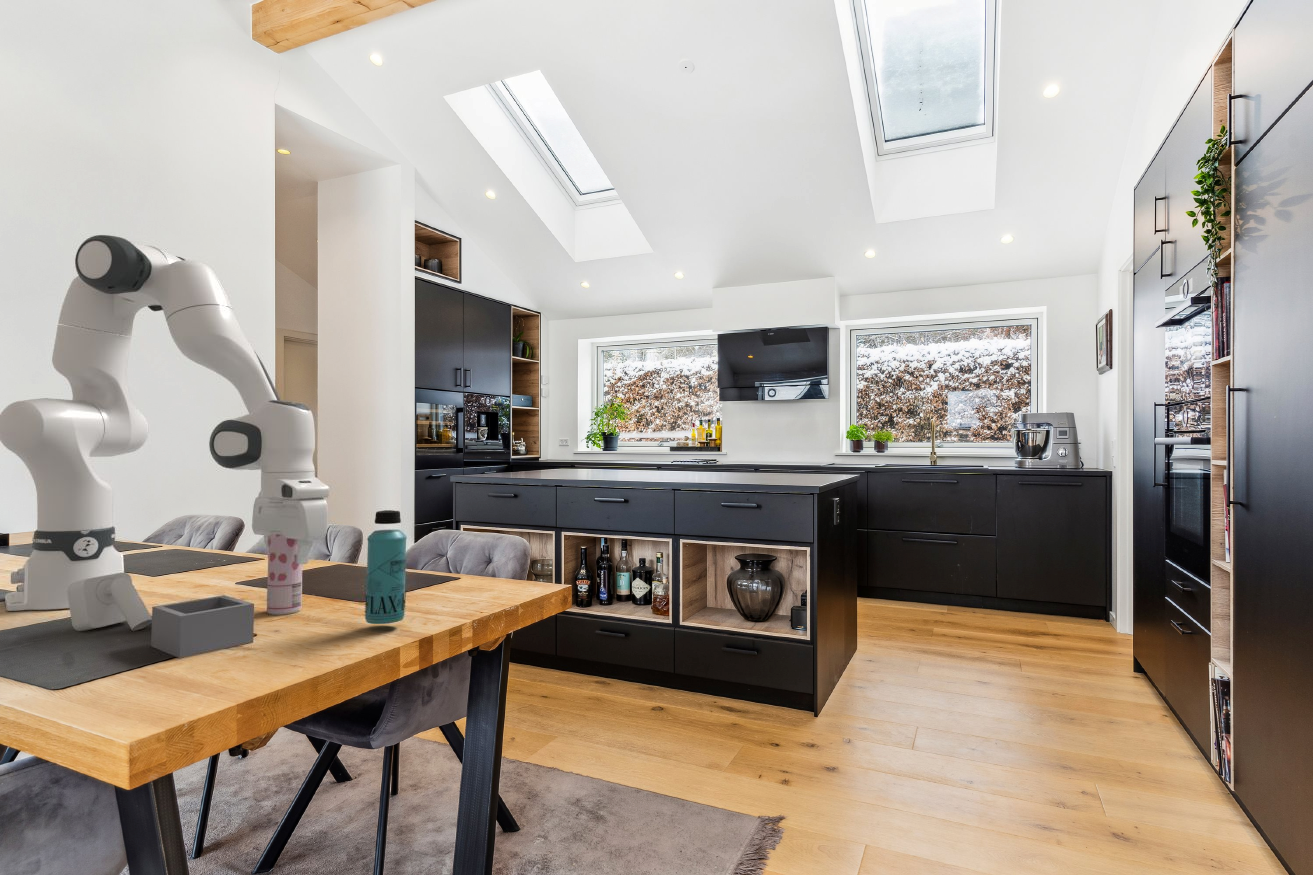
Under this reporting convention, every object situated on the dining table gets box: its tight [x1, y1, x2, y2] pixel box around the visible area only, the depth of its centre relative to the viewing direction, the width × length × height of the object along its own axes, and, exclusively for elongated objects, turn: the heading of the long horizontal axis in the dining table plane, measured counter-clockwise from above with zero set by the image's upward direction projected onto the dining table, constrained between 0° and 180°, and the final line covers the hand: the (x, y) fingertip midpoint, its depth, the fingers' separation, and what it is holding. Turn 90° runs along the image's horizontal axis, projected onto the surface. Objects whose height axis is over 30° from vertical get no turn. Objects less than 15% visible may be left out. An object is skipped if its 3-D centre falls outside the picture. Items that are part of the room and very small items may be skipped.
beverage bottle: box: [364, 509, 408, 625], centre depth 114 cm, size 6×7×20 cm
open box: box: [150, 594, 255, 659], centre depth 103 cm, size 10×10×6 cm
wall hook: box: [67, 571, 152, 632], centre depth 111 cm, size 8×10×10 cm
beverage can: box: [266, 531, 304, 616], centre depth 124 cm, size 6×6×15 cm
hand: (287, 561), depth 124 cm, fingers open, 8 cm apart
